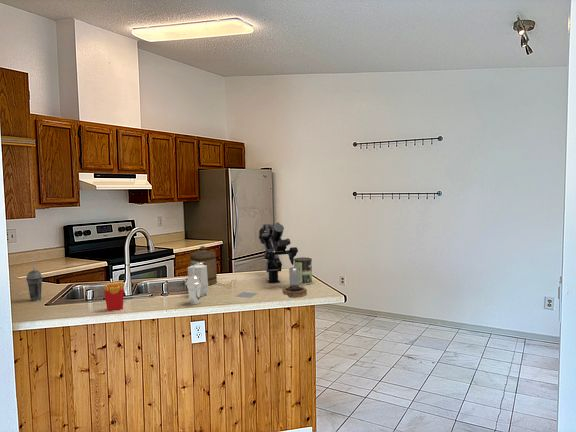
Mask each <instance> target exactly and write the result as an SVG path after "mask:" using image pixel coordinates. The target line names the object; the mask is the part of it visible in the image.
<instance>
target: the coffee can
mask: <svg viewBox="0 0 576 432" xmlns="http://www.w3.org/2000/svg"><path fill="white" fill-rule="evenodd" d="M312 263H313V262H312V258H310V257H303V256H302V257H296V258H295V257H294V264H293V266H294V267H293V268H299V286H300V285H301V286H303V285H307V286H308V285H311V284H312V283H313V277H312V276H313V275H312V271H313V269H312V268H313V267H312Z"/></svg>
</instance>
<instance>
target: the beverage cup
mask: <svg viewBox="0 0 576 432" xmlns="http://www.w3.org/2000/svg"><path fill="white" fill-rule="evenodd" d="M32 268H33V270H31V271H29V272H27V275H26V279H25V280H26V283H27V287H28V293H29V298H30V299H29V300H30V302H38V301H37V300H39V301H41V300H42V285H43V283H42V282H43V278H44V277H43V274H42V273H41V272H40V271H39V270H36V269H35V262H34V261H32Z"/></svg>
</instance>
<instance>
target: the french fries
mask: <svg viewBox="0 0 576 432" xmlns="http://www.w3.org/2000/svg"><path fill="white" fill-rule="evenodd" d="M125 285H126V284H125V282H124V281H120V280H119V281H114V282H107V283H104V284H103V286H104V298H105V305H106V309H107V310H108V311H107V312H113V311H112V310H116V311H121V310H120V309H122V310H124V295H125V294H124V293H125Z"/></svg>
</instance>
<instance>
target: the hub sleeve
mask: <svg viewBox="0 0 576 432" xmlns="http://www.w3.org/2000/svg"><path fill="white" fill-rule="evenodd" d="M288 274H289V287H290V291H291V292H296V291H299V287H300V285H299V268H294V267H290V268H289V271H288Z"/></svg>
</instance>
